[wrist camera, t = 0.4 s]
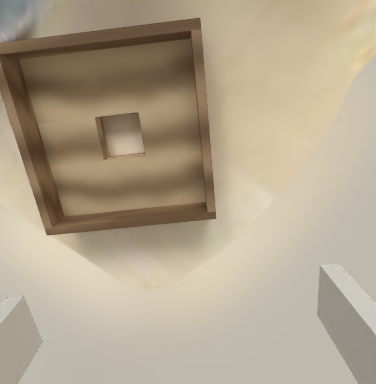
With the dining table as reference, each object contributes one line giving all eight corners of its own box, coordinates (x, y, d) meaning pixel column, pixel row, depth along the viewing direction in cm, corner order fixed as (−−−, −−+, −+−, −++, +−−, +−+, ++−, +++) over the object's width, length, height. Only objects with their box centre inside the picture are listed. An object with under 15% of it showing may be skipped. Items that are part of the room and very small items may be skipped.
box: (20, 54, 32) (-15, 44, 27) (197, 32, 32) (200, 17, 26) (67, 216, 39) (46, 235, 34) (212, 201, 39) (216, 218, 33)
